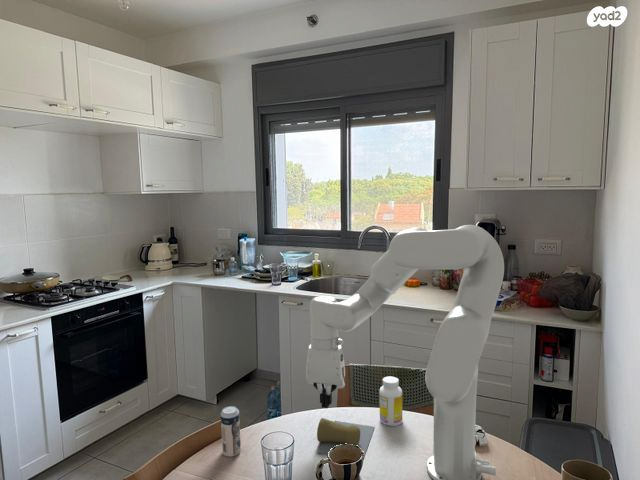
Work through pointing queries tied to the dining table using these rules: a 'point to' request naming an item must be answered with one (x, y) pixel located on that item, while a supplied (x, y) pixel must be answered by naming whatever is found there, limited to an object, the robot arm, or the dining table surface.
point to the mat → (326, 446)
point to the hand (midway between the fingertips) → (326, 405)
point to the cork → (337, 432)
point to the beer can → (230, 431)
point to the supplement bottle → (390, 402)
